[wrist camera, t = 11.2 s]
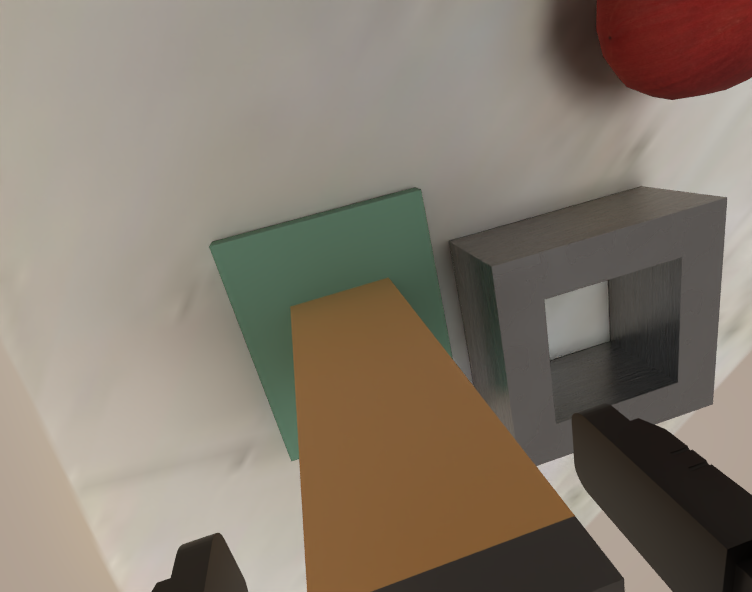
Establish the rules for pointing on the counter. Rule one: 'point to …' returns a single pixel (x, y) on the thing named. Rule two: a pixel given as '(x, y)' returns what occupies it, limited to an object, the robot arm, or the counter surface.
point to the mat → (324, 280)
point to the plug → (418, 466)
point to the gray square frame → (627, 311)
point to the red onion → (677, 44)
